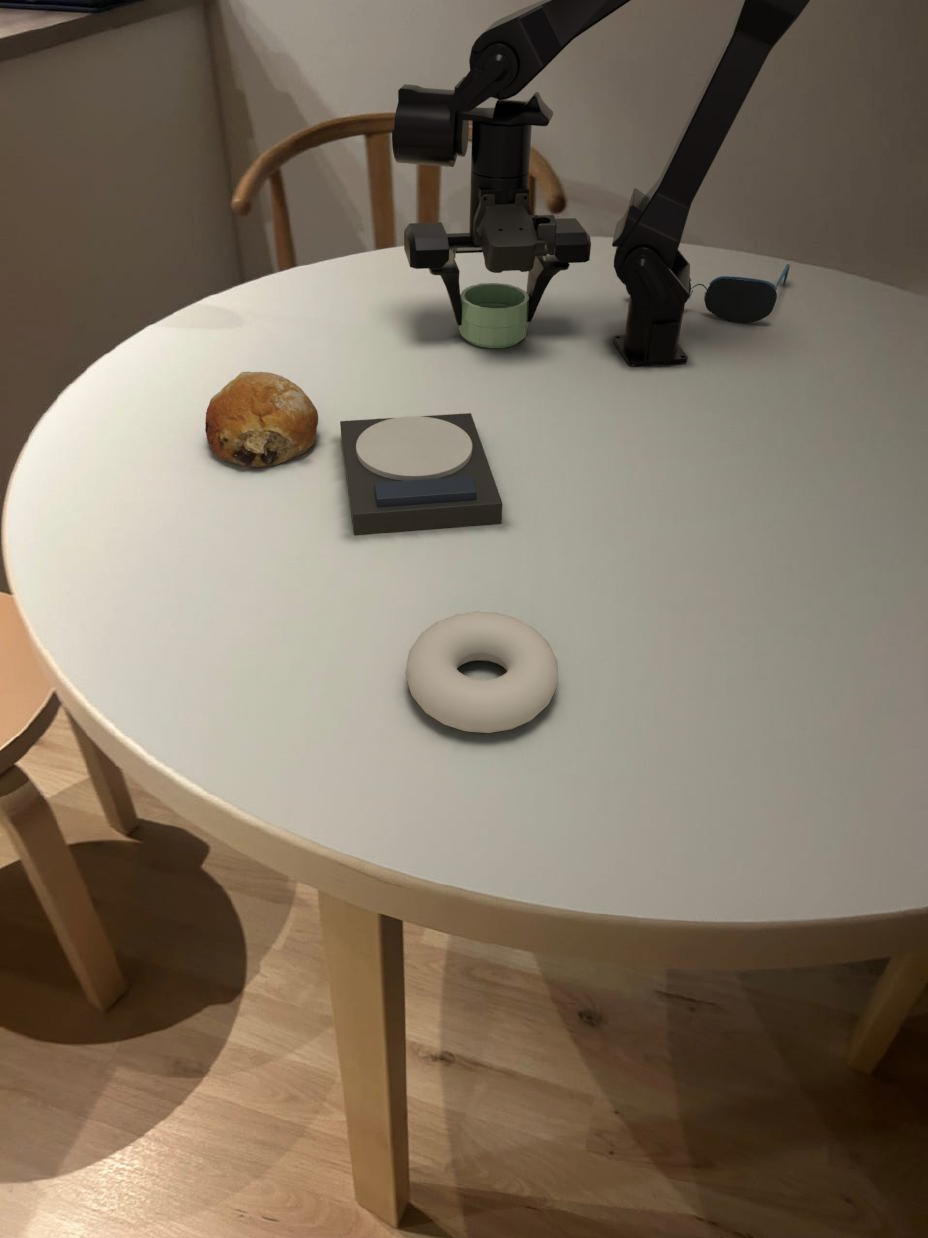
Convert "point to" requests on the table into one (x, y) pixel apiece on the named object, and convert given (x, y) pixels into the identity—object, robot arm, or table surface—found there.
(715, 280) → the sunglasses
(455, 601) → the table surface
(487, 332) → the bowl
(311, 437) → the bread roll
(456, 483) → the scale
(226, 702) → the table surface
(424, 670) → the donut
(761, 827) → the table surface
